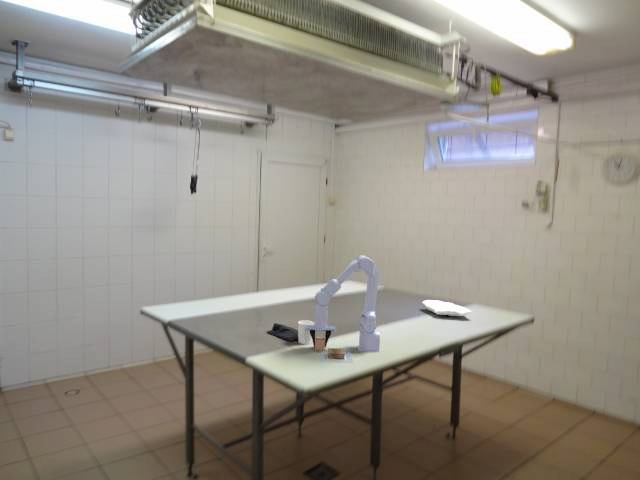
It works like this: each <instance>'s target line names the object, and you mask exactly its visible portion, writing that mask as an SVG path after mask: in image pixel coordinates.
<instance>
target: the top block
mask: <svg viewBox="0 0 640 480" xmlns="http://www.w3.org/2000/svg"><path fill="white" fill-rule="evenodd" d="M325 349H326V347H325V336H323V337H321V336H320V337H319V336H315V347H314V350H315V351H326V350H325Z"/></svg>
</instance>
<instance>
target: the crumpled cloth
mask: <svg viewBox="0 0 640 480" xmlns="http://www.w3.org/2000/svg"><path fill="white" fill-rule="evenodd" d="M421 304H422V305H424V306H425V308H426V309H428V310H429V311H430V312H432V313H434V314H436V315H437V316H439V315H440V317H441V316H446V315H448V317H464V316H467V315H469V314H472V313H473V312H472V310H470V309H469V308H467V307H464V306H461V305H458V304H454V303H453V302H449V301H447V302H445V301H443V300H439V299H437V300H436V299H434V300H433V299H425V300H423V301H421Z"/></svg>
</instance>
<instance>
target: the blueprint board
mask: <svg viewBox="0 0 640 480" xmlns="http://www.w3.org/2000/svg"><path fill="white" fill-rule="evenodd" d="M344 353H345V358H344V359H328V350H319V360H320V361H319V362H321V363H322V362H326V363H327V362H328V363H351V364H352V363H353V364H354V360H353V357H352V353H351V351H344Z"/></svg>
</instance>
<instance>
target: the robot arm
mask: <svg viewBox="0 0 640 480" xmlns="http://www.w3.org/2000/svg"><path fill="white" fill-rule="evenodd" d="M361 270H362V271H363V272H364V273H365V274H366V276H367V283H366V291H365V298H364V305H363V306H364V307H363V308H364V309H363V310H362V312H361V316H360V317H359V319H358V321H359V325H360V328H359V337H358V338H359V339H358V340H359V341H358V345H357V350H358V352H371V353H372V352H373V353H377V352H378V353H380V343H381V341H380V340H381V339H380V338H381V334H380V331H379V330H377V328H378V327H377V326H378V325H377V322H376V318H377V316H376V304H377V295H378V291H379V289H378V288H379V278H380V272H379V270H378V268H377V265H376V262H375V261H374V260H373V259H372V258H370V257H368V256H367V255H364V254H361V255H358V256H357V257H356V259H353V260H352V261H351V262H350V264H349V265H348V266H347V267H346V268H345V269H344V270H343V271H342V272H341V273H340V275H338V276H337V277H336V278H333V279H331V280H330V279H329V280H328V281H327V284H325V286H324V287H321V288H320V290H319V291H317V292H316V293H315V296H314V300H315V307H314V308H315V309H314V325H311V326H305V331H307V330H308V331H310V335H311V337H312V340H313V341H312V344H313V347H314V348H315V337H316V332H317V331H318V332H325V336H324V338H325V348H327V344H328V341H329V339H330V337H331V335H332V332H334V333H337V326H333V325H332V326H331V325H328V313H329V312H328V311H329V310H328V309H329V308H328V306H329V305H328V304H329V303H330V299H331V298H332V297H333V296H334V295H335V294H337V293H338V292H339V290H340V289H341V288H342V284H343V283H344V282H345V281H346V280H348V278H350V277H351V276H352V275H353V274H355V273H360V272H362V271H361Z"/></svg>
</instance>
